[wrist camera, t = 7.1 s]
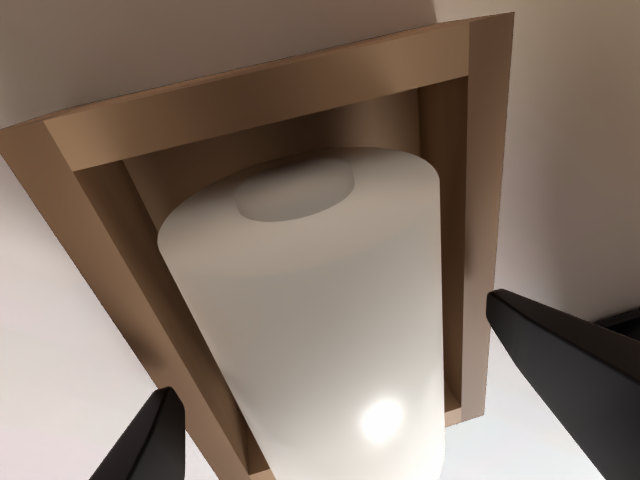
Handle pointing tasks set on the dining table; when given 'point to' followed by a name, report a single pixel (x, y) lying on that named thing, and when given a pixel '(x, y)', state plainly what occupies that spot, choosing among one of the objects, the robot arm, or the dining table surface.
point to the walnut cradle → (261, 146)
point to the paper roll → (323, 308)
